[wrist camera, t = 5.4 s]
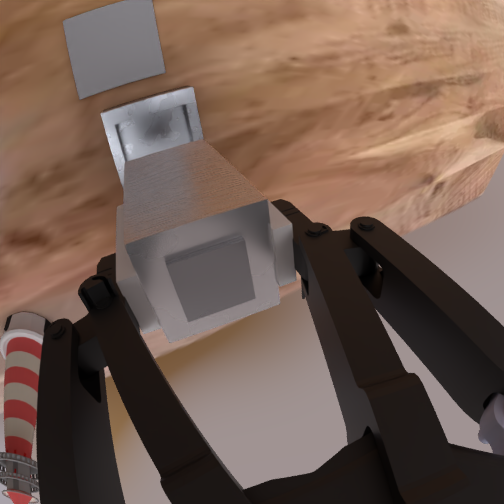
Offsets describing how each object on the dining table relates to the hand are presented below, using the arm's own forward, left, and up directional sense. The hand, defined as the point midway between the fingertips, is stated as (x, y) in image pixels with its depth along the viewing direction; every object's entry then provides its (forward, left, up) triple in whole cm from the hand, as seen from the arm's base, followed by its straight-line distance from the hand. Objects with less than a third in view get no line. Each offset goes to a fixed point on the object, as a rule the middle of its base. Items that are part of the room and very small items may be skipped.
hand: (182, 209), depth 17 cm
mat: (-11, -2, -19) cm, 22 cm away
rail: (+5, 0, -19) cm, 19 cm away
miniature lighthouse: (+19, -26, -19) cm, 37 cm away
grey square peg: (0, 0, -4) cm, 4 cm away
